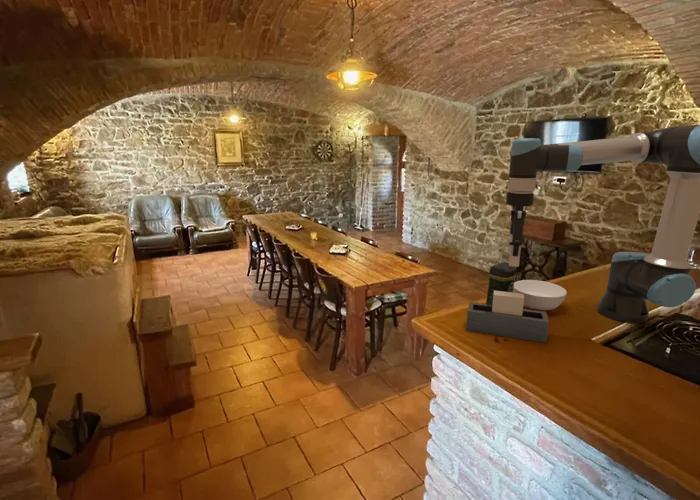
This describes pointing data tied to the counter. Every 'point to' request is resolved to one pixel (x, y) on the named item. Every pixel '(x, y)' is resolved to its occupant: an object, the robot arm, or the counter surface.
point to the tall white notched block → (508, 303)
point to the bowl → (540, 294)
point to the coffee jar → (500, 279)
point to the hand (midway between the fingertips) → (512, 259)
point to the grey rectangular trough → (507, 323)
